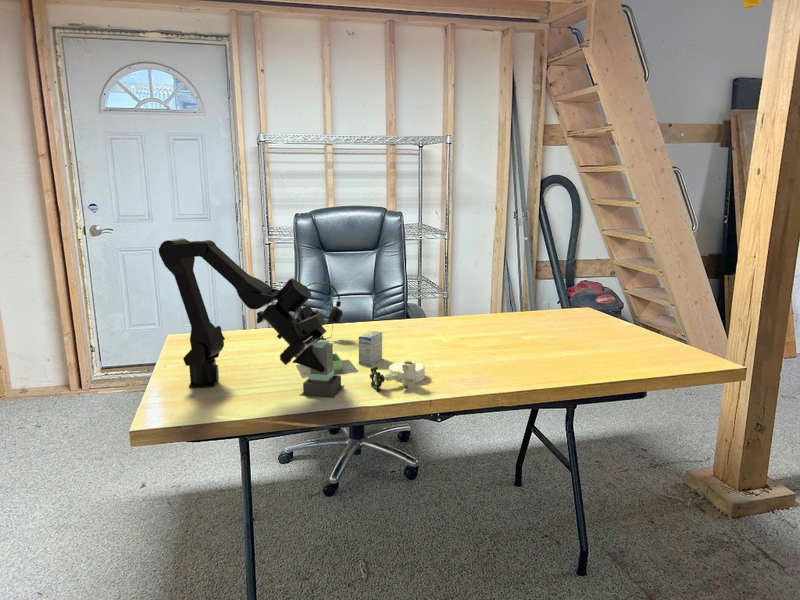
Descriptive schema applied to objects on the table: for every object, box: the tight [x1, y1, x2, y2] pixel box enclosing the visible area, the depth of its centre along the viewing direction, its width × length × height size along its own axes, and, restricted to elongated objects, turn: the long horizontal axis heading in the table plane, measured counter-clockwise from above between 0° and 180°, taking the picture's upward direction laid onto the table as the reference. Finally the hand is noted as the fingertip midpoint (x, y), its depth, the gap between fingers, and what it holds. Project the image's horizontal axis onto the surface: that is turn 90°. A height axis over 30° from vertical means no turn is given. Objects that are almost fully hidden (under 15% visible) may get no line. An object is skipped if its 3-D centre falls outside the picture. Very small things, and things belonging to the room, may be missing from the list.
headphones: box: [298, 281, 344, 345], centre depth 193 cm, size 15×11×20 cm
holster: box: [299, 374, 345, 399], centre depth 145 cm, size 9×9×4 cm
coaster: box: [388, 360, 426, 383], centre depth 156 cm, size 10×10×4 cm
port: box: [295, 353, 359, 379], centre depth 162 cm, size 16×12×4 cm
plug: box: [309, 339, 334, 384], centre depth 144 cm, size 5×5×13 cm
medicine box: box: [358, 330, 383, 367], centre depth 170 cm, size 8×4×9 cm, turn 159°
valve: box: [369, 360, 417, 392], centre depth 148 cm, size 7×7×12 cm
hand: (326, 368), depth 144 cm, fingers closed on plug, 4 cm apart
